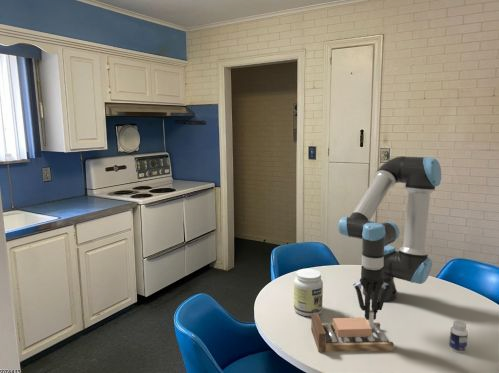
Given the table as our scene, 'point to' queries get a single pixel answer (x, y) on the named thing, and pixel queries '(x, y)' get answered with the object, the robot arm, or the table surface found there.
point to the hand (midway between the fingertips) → (369, 327)
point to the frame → (322, 346)
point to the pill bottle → (458, 337)
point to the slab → (352, 327)
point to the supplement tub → (308, 292)
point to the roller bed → (357, 339)
